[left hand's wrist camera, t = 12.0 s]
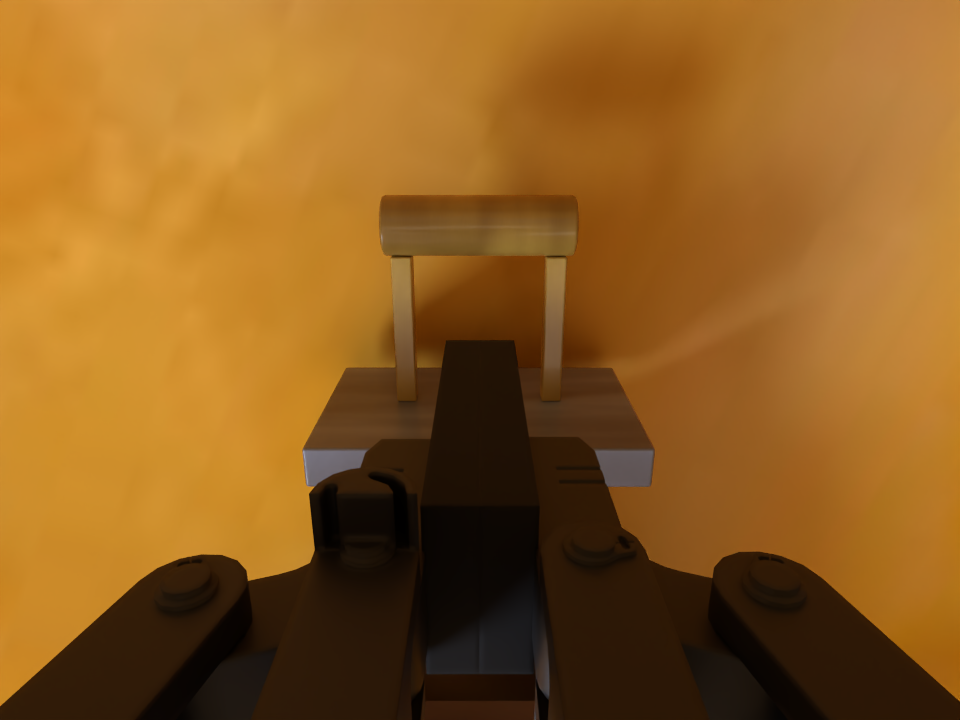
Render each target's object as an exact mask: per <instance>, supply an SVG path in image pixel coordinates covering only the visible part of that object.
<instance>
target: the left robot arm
mask: <svg viewBox="0 0 960 720" xmlns="http://www.w3.org/2000/svg"><path fill="white" fill-rule="evenodd" d="M309 498H310V507H311V517H312V527H313V536H314V546H315V552H314V554H313V557H312V560H311V562H310V563H309V564H307V565H305V566H303V567H300V568H298V569H296V570H293V571H289V572H286V573H282V574H279V575H274V576H269V577H265V578H260V579H255V580H251V581H248V579H247V572H246V570H245V569H244V567H243V566H242V565H241V564H240V563H239V562H238V561H237V560H234V559H231V558H229V557H226V556H223V555H197V556H192V557H186V558H182V559H178V560H176V561H173V562H171V563H169V564H166V565H164V566H161V567H159V568H157V569H156V570H154V571H153V572H151V573H150V574H148V575H147V576H146V577H144V578H143V579H141V580H140V581H139V582H137V583H136V584H135V585H134V586H133V587H132V588H131V589H130V590H129V591H127V592H126V593H125V594H124V595H123V596H122V597H121V598H120V599H119V600H117V601H116V602H115V603H114V604H113V605H112V606H111V607H110V608H109V609H108V610H106V611H105V612H104V613H103V614H102V615H101V616H100V617H99V618H98V619H96V620H95V621H94V622H93V623H92V624H91V625H90V626H89V627H88V628H86V629H85V630H84V631H83V632H82V633H81V634H80V635H79V636H78V637H77V638H75V639H74V640H73V641H72V642H71V643H70V644H69V645H68V646H67V647H65V648H64V649H63V650H62V651H61V652H60V653H59V654H58V655H57V656H56V657H54V658H53V659H52V660H51V661H50V662H49V663H48V664H47V665H46V666H44V667H43V668H42V669H41V670H40V671H39V672H38V673H37V674H36V675H34V676H33V677H32V678H31V679H30V680H29V681H28V682H27V683H26V684H25V685H23V686H22V687H21V688H20V689H19V690H18V691H17V692H16V693H15V694H13V695H12V696H11V697H10V698H9V699H8V700H7V701H6V702H5V703H3V704H2V705H1V706H0V720H424V717H425V685H424V676H425V666H426V674H534V663H535V673H536V685H535V711H534V720H960V702H959V701H958V700H957V699H956V698H955V697H954V696H953V695H952V694H951V693H949V692H948V691H947V690H946V689H945V688H944V687H943V686H942V685H940V684H939V683H938V682H937V681H936V680H935V679H934V678H933V677H932V676H930V675H929V674H928V673H927V672H926V671H925V670H924V669H923V668H922V667H920V666H919V665H918V664H917V663H916V662H915V661H914V660H913V659H911V658H910V657H909V656H908V655H907V654H906V653H905V652H904V651H903V650H901V649H900V648H899V647H898V646H897V645H896V644H895V643H894V642H893V641H891V640H890V639H889V638H888V637H887V636H886V635H885V634H884V633H882V632H881V631H880V630H879V629H878V628H877V627H876V626H875V625H874V624H872V623H871V622H870V621H869V620H868V619H867V618H866V617H865V616H864V615H862V614H861V613H860V612H859V611H858V610H857V609H856V608H855V607H853V606H852V605H851V604H850V603H849V602H848V601H847V600H846V599H845V598H843V597H842V596H841V595H840V594H839V593H838V592H837V591H836V590H834V589H833V588H832V587H831V586H830V585H829V584H828V583H827V582H826V581H824V580H823V579H822V578H821V577H820V576H818V575H817V574H815V573H814V572H812V571H811V570H809V569H808V568H806V567H805V566H804V565H802V564H799V563H797V562H794V561H792V560H789V559H787V558H785V557H782V556H778V555H774V554H768V553H763V552H738V553H735V554H732V555H729V556H726V557H723V558H722V559H721V560H720V562H719V563H718V564H717V565H716V566H715V567H714V572H713V578H709V577H704V576H699V575H695V574H690V573H685V572H681V571H677V570H674V569H670V568H667V567H664V566H661V565H659V564H657V563H655V562H653V561H650V560H649V559H648V556H647V553H646V551H645V549H644V547H643V546H642V545H641V543H640V542H639V540H638V539H637V538H636V537H635V536H633V535H632V534H630V533H629V532H628V531H626V530H625V529H623V528H622V527H621V524H620V521H619V519H618V516H617V513H616V510H615V507H614V504H613V501H612V498H611V496H610V493H609V490H608V487H607V484H605V478H604V476H603V473H602V470H600V464H599V461H598V458H597V456H596V453H595V450H593V449H592V448H591V447H590V446H589V445H587V444H586V443H585V442H584V441H583V440H581V439H580V438H579V437H529V434H528V427H527V421H526V414H525V408H524V402H523V395H522V389H521V382H520V376H519V369H518V363H517V357H516V350H515V344H514V340H446V344H445V350H444V357H443V363H442V369H441V376H440V382H439V389H438V395H437V402H436V408H435V414H434V421H433V427H432V434H431V439H381V440H380V441H379V442H378V443H376V444H375V445H374V446H373V447H372V448H370V449H369V450H368V451H367V452H366V453H365V455H364V458H363V461H362V464H361V467H360V468H354V469H349V470H346V471H342V472H339V473H336V474H333V475H331V476H329V477H327V478H326V479H324V480H322V481H321V482H319V483H318V484H317V485H316V486H315V487H314V488H313V490H312V491H311V492H310V493H309Z"/></svg>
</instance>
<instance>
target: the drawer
mask: <svg viewBox="0 0 960 720" xmlns="http://www.w3.org/2000/svg"><path fill="white" fill-rule="evenodd" d="M578 227H579V214H578V203H577V199H576V197H575V196H573V195H385V196H383V197H382V199H381V202H380V209H379V232H380V242H381V248H382V251H383V253H384V255H386V256H392V257H391V278H392V298H393V319H394V340H395V360H396V368H346V369H345V371H344V373H343V375H342V377H341V379H340V381H339V382H338V384H337V386H336V388H335V390H334V392H333V394H332V395H331V397H330V399H329V401H328V403H327V405H326V407H325V409H324V410H323V412H322V414H321V416H320V418H319V420H318V422H317V423H316V425H315V427H314V429H313V431H312V433H311V435H310V436H309V438H308V440H307V442H306V444H305V446H304V448H303V459H304V469H305V478H306V485H307V486H316V485H317V484H318V483H319V482H321V481H322V480H324V479H326V478H327V477H329V476H331V475H333V474H336V473H339V472H342V471H346V470H349V469H354V468H360V467H361V464H362V461H363V458H364V455H365V453H366V452H367V451H368V450H369V449H370V448H372V447H373V446H374V445H375V444H376V443H378V442H379V441H380V440H381V439H431V434H432V427H433V421H434V414H435V408H436V402H437V395H438V389H439V382H440V376H441V369H442V368H417V352H416V324H415V296H414V268H413V256H545V266H544V294H543V322H542V351H541V368H518V369H519V376H520V382H521V389H522V395H523V402H524V408H525V414H526V421H527V427H528V434H529V437H579V438H580V439H581V440H583V441H584V442H585V443H586V444H587V445H589V446H590V447H591V448H592V449H593V450H595V453H596V456H597V458H598V461H599V464H600V470H602V473H603V476H604V478H605V484H607V487H649V486H651V482H652V473H653V463H654V454H655V449H654V447H653V445H652V443H651V441H650V440H649V438H648V436H647V434H646V432H645V430H644V428H643V426H642V424H641V422H640V420H639V419H638V417H637V415H636V413H635V411H634V409H633V407H632V405H631V403H630V401H629V399H628V398H627V396H626V394H625V392H624V390H623V388H622V386H621V384H620V382H619V380H618V379H617V377H616V375H615V373H614V371H613V369H612V368H562V357H563V336H564V315H565V294H566V273H567V257H566V256H572V255H574V253H575V250H576V247H577V240H578ZM424 685H425V701H535V685H536V673H535V663H534V674H426V666H425V676H424Z"/></svg>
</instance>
